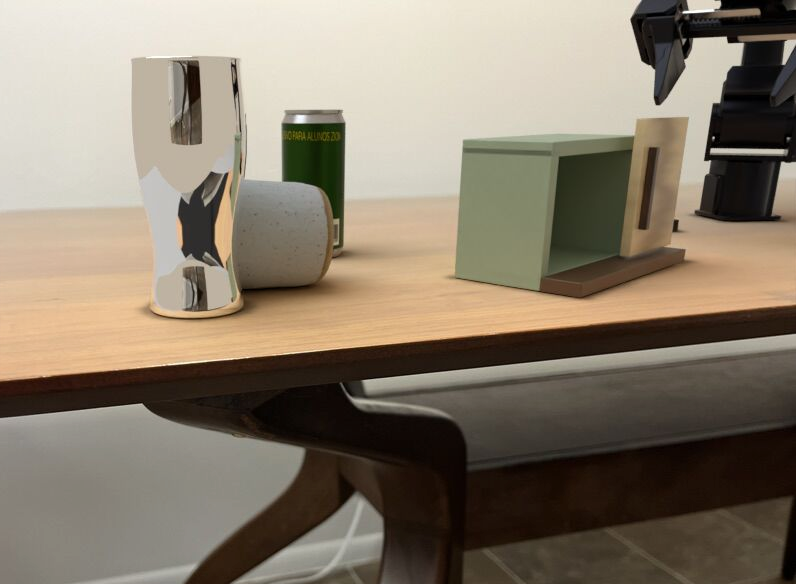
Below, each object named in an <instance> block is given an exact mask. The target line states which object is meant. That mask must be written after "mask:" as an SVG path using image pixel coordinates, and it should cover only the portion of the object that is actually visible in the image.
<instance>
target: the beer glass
mask: <svg viewBox="0 0 796 584" xmlns="http://www.w3.org/2000/svg"><path fill="white" fill-rule="evenodd" d="M129 61H130V134H131V135H130V136H131V144H132V145H131V146H132V153H133V155H132V156H133V161H134V164H135V171H136V177H137V182H138V186H139V191H140V197H141V199H142V204H143V208H144V212H145V215H146V217H145V218H146V220H147V226H148V229H149V235H150V240H151V245H152V246H151V248H152V278H151V286H150V295H149V309H150V311H151V312H152V313H154V314H157V315H160V316H163V317H167V318H168V317H169V318H177V319H178V318H179V319H206V318H214V317H215V318H216V317H221V316H226V315H230V314H234V313H237V312H239V311H241V310H242V308H244V305H245V297H244V292H243V289H242V287H241V283H240V278H239V273H238V266H237V255H236V244H237V230H238V222H239V214H240V208H241V201H242V194H243V187H244V179H246V170H247V157H248V123H247V122H248V121H247V106H246V96H245V86H244V78H243V77H244V75H243V63H242V62H243V59H242V58H239V57H234V56H233V57H232V56H218V55H217V56H215V55H214V56H213V55H162V56H161V55H158V56H157V55H156V56H155V55H154V56H140V57H132V58H131V59H130V60H129Z"/></svg>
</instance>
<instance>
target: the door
mask: <svg viewBox="0 0 796 584" xmlns="http://www.w3.org/2000/svg"><path fill="white" fill-rule="evenodd" d="M689 119H690V117H689V116H668V117H667V116H666V117H645V118H644V117H641V118H636V122H635V130H634V135H635V137H634V145H633V153H632V161H631V169H630V176H629V184H628V192H627V200H626V208H625V216H624V224H623V232H622V240H621V248H620V256H623V257H631V256H635V255H638V254H641V253H644V252H648V251H651V250H654V249H657V248H661V247H668V246H670V245H671V244H672V243H671V242H672V236H673V232H672V230H673V223H674V219H675V217H676V216H675V215H676V208H677V202H678V196H679V190H680V189H679V188H680V182H681V174H682V168H683V161H684V154H685V147H686V141H687V133H688V126H689Z"/></svg>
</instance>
